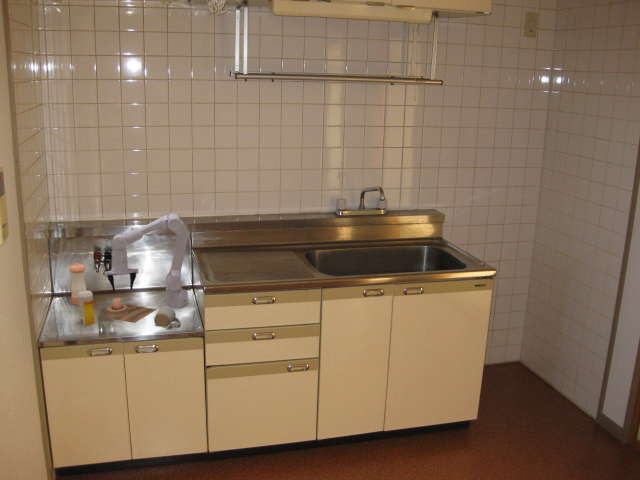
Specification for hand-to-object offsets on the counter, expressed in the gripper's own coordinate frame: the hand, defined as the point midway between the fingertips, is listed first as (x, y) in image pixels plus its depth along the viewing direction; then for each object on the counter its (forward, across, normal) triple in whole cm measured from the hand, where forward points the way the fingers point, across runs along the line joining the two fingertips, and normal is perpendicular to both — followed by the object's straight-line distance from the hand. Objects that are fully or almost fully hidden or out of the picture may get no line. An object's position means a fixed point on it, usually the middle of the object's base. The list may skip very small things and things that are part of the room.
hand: (122, 289), depth 299 cm
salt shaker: (+10, +18, -18) cm, 28 cm away
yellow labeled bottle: (+10, +16, +12) cm, 23 cm away
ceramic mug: (+11, -16, +22) cm, 30 cm away
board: (+10, -1, +6) cm, 12 cm away
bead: (+9, +3, +6) cm, 11 cm away
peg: (+9, +3, +6) cm, 11 cm away
